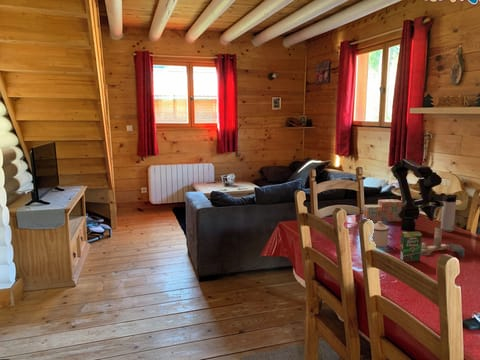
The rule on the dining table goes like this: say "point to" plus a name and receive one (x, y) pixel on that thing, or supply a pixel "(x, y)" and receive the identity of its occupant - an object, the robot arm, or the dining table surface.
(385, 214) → the stack of blocks
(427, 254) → the pintle
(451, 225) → the travel mug
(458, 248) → the keeper
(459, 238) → the dining table surface
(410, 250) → the coffee box
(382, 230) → the teacup with lid
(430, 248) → the link
